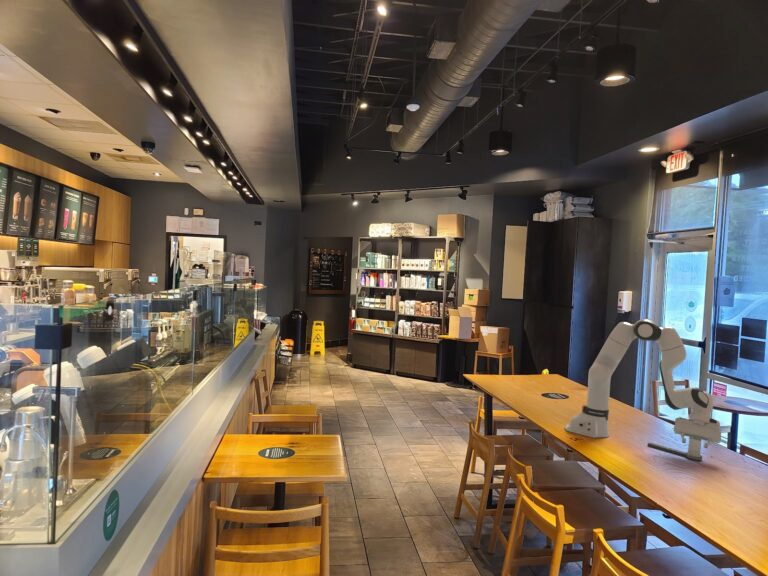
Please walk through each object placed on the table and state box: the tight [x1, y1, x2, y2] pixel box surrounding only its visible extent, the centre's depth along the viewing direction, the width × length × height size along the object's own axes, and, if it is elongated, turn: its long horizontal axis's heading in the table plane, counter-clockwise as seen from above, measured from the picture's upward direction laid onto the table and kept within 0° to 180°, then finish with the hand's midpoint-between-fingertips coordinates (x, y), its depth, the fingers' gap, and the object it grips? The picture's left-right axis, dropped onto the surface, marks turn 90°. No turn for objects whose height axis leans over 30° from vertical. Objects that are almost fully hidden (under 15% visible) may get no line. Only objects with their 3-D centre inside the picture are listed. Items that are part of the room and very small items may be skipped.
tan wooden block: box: [687, 436, 702, 457], centre depth 255 cm, size 5×5×8 cm
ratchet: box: [647, 442, 703, 462], centre depth 262 cm, size 25×7×5 cm, turn 42°
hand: (694, 444), depth 254 cm, fingers open, 8 cm apart
